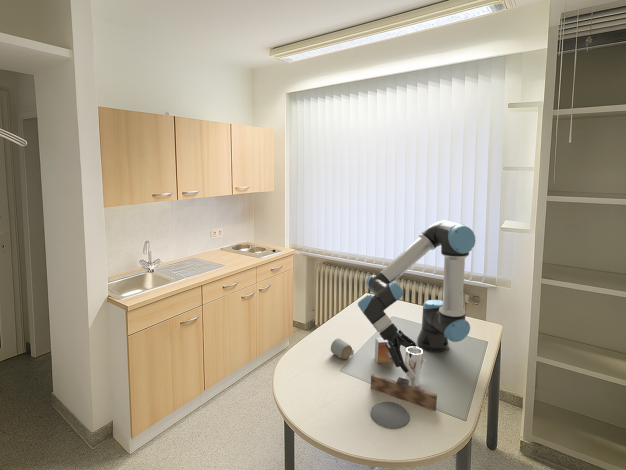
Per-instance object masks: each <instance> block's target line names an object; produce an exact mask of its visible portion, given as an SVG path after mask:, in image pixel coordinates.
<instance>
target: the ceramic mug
mask: <svg viewBox="0 0 626 470" xmlns="http://www.w3.org/2000/svg"><path fill="white" fill-rule="evenodd" d="M330 352H331V353H332V354H334V355H335V356H337V357H339V358H340V359H343V360H347V359H349V358H350V357H351V356H352V355H353V354H354V352H355V350H354V349H353V347H352V346H351V345H350V344H349V343H348V342H346V341H344V340H343V339H341V338H336V339H334V340H333V341H332V343H331V345H330Z"/></svg>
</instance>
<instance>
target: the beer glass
mask: <svg viewBox="0 0 626 470" xmlns="http://www.w3.org/2000/svg"><path fill="white" fill-rule="evenodd" d="M423 354H424V352H423V348H421V347H420V348H419V347H418V346H417V347H408V348H406V351H405V358H404V360H405V361H404V363H405V362H406V364H407V365H408V366H409V367H410V369H411V370H412V371H413V373H414V374H415V375H416V377H414V378H413V379H411V380H410V378H409V377H408V376H407V375H406V374H405V379H407V380H409V386H412V387H416V388H419V387H420V384H421V380H420V375H421V371H422V367H423V363H424V362H423V358H424V357H423V356H424V355H423ZM422 362H423V363H422Z"/></svg>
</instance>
